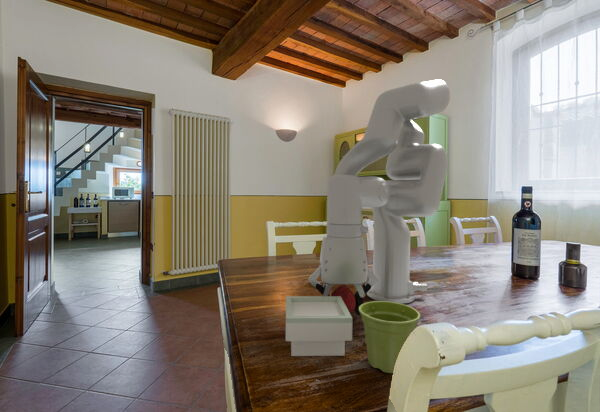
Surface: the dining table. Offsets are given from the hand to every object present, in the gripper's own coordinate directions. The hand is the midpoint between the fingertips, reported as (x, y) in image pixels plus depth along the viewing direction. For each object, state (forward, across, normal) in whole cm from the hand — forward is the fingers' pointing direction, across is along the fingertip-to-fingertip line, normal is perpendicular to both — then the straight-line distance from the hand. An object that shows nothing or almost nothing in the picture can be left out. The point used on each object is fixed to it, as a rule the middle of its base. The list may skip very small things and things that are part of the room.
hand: (342, 312), depth 66 cm
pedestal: (+1, +7, +11) cm, 13 cm away
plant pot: (+2, -4, +18) cm, 19 cm away
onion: (+2, 0, 0) cm, 2 cm away
